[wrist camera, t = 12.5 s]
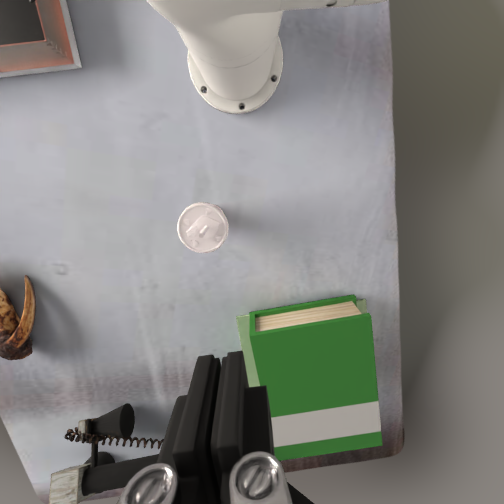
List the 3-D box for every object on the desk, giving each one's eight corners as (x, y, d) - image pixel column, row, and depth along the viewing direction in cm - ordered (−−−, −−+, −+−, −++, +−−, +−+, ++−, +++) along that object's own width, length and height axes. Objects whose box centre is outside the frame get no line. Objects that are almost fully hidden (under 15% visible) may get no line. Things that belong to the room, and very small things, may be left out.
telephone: (226, 385, 62) (85, 414, 63) (212, 384, 51) (40, 419, 51) (238, 475, 56) (81, 505, 56) (225, 497, 44) (28, 535, 45)
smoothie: (238, 229, 47) (233, 254, 34) (200, 241, 48) (180, 271, 35) (224, 189, 46) (213, 199, 32) (184, 203, 46) (158, 219, 33)
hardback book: (371, 315, 43) (382, 445, 50) (354, 294, 50) (365, 410, 57) (249, 336, 44) (276, 461, 50) (249, 312, 51) (273, 424, 58)
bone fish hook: (65, 342, 53) (17, 248, 48) (50, 359, 49) (-6, 257, 44) (16, 355, 54) (-38, 262, 48) (-5, 373, 49) (-67, 273, 44)
